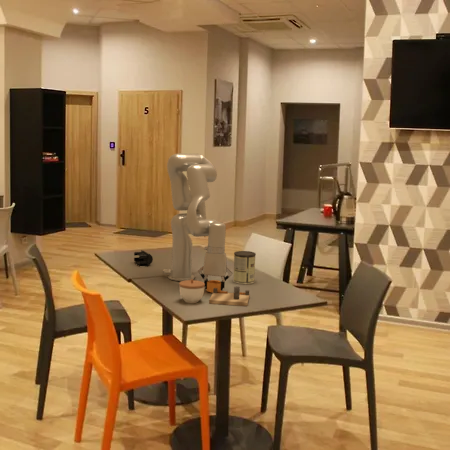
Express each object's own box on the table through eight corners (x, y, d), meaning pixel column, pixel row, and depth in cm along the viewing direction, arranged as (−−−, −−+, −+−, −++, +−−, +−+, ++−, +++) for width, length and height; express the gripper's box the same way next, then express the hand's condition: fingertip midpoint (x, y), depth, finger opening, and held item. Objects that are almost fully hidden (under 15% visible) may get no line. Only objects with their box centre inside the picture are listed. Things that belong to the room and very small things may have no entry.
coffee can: (236, 278, 313) (237, 250, 311) (256, 280, 310) (257, 252, 308) (230, 282, 303) (231, 253, 301) (251, 285, 300) (252, 255, 298)
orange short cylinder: (206, 291, 283) (206, 283, 282) (208, 288, 289) (208, 279, 288) (220, 293, 282) (220, 284, 281) (222, 289, 288) (222, 280, 288)
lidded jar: (209, 301, 270) (210, 279, 268) (191, 306, 262) (192, 283, 260) (191, 296, 277) (192, 275, 275) (173, 300, 269) (174, 278, 267)
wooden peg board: (208, 303, 266) (209, 288, 265) (213, 294, 280) (213, 280, 279) (247, 306, 265) (247, 290, 264) (249, 297, 279) (250, 282, 278)
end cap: (152, 266, 332) (153, 253, 331) (139, 267, 329) (140, 254, 328) (146, 262, 341) (146, 249, 340) (133, 263, 338) (133, 250, 337)
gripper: (195, 250, 280) (193, 289, 283) (234, 253, 278) (232, 292, 281) (198, 246, 287) (196, 285, 290) (236, 249, 285) (234, 288, 288)
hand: (214, 288), depth 285 cm, fingers closed on orange short cylinder, 6 cm apart
